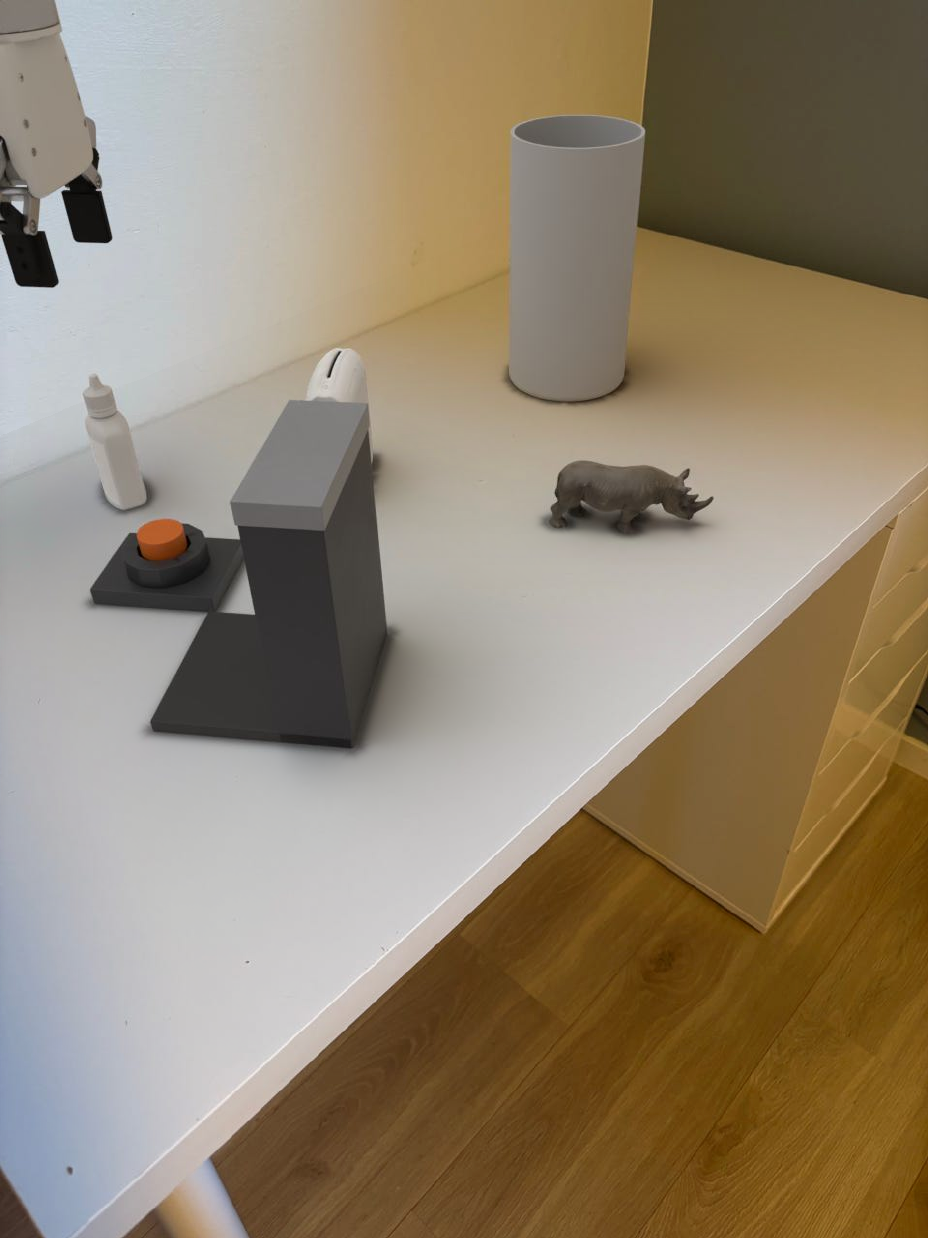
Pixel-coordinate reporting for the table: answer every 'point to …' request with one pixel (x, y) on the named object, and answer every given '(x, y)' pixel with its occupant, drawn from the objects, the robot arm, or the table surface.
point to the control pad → (170, 575)
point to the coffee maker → (294, 594)
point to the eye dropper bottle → (112, 447)
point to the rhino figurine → (621, 492)
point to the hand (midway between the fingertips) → (67, 262)
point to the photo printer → (340, 380)
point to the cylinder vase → (572, 253)
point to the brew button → (162, 539)
